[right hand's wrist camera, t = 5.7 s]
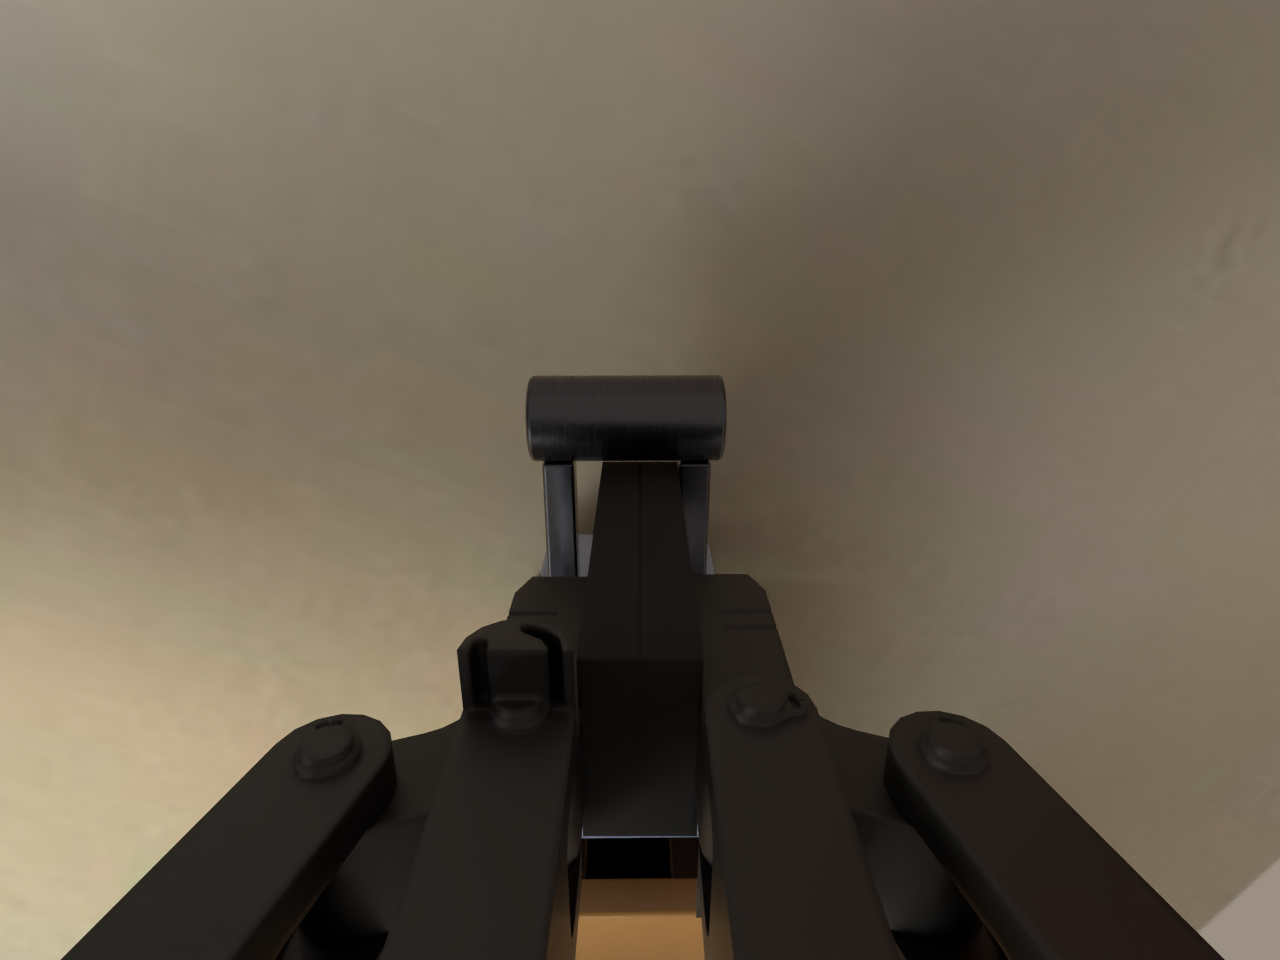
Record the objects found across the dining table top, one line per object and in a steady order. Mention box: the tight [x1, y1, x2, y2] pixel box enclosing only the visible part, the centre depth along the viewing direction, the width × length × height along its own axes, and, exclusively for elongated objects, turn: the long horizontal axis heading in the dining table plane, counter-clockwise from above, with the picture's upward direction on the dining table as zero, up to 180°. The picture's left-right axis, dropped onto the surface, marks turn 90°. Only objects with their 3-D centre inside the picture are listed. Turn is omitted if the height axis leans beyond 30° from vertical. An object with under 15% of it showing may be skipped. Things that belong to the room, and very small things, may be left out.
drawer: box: [526, 375, 727, 879], centre depth 18 cm, size 24×4×9 cm, turn 0°
